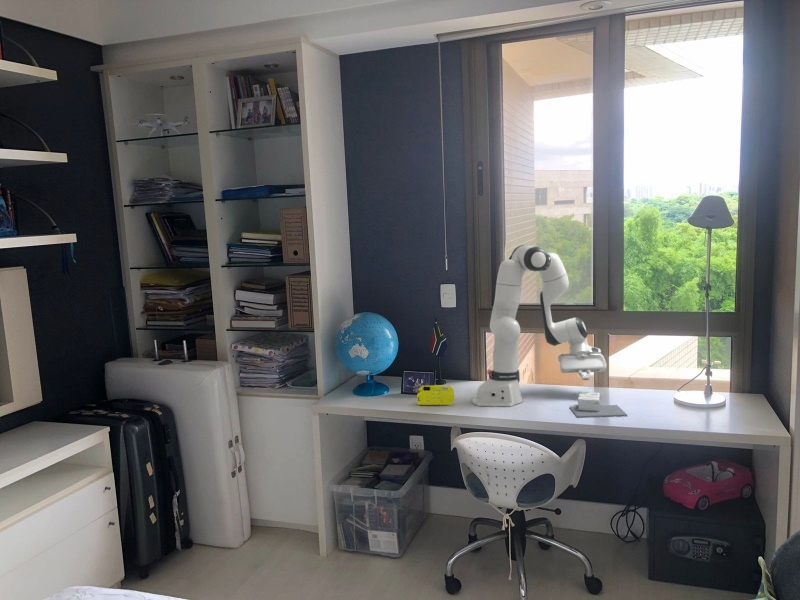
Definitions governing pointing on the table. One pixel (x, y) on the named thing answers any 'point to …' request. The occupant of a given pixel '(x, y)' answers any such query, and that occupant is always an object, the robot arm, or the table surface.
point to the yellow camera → (435, 395)
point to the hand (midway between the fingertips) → (585, 379)
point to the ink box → (588, 401)
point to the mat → (603, 411)
